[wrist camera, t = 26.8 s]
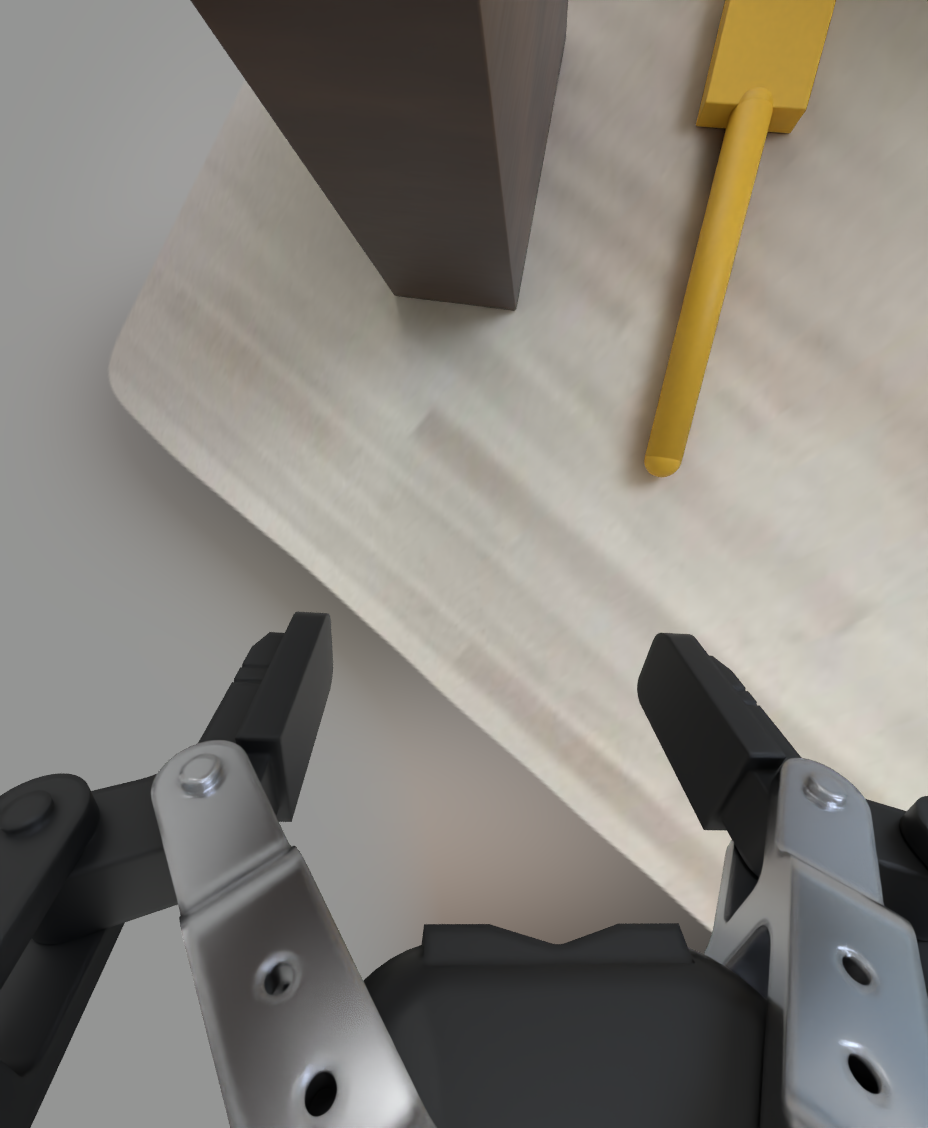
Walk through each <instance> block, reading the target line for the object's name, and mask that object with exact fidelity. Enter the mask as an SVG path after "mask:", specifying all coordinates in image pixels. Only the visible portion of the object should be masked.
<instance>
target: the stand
mask: <svg viewBox="0 0 928 1128" xmlns="http://www.w3.org/2000/svg"><path fill="white" fill-rule="evenodd" d="M191 1H192V3H193V5H194V6H195V8H196V9H197V10H198V12H199V13H200V15H201V16H202V18H203V19H204V20H205V22H206V23H207V25H208V26H209V28H210V29H211V30H212V32H213V34H214V35H215V36H216V38H217V39H218V41H219V42H220V44H221V45H222V46H223V48H224V49H225V51H226V52H227V54H228V55H229V57H230V58H231V60H232V61H233V62H234V64H235V65H236V67H237V68H238V70H239V71H240V72H241V74H242V75H243V77H244V78H245V80H246V81H247V83H248V84H249V86H250V87H251V88H252V90H253V91H254V93H255V94H256V96H257V97H258V99H259V100H260V101H261V103H262V104H263V106H264V107H265V109H266V110H267V112H268V113H269V114H270V116H271V117H272V119H273V120H274V122H275V123H276V125H277V126H278V127H279V129H280V130H281V132H282V133H283V135H284V136H285V138H286V139H287V140H288V142H289V143H290V145H291V146H292V148H293V149H294V151H295V152H296V153H297V155H298V156H299V158H300V159H301V161H302V162H303V164H304V165H305V166H306V168H307V169H308V171H309V172H310V174H311V175H312V177H313V178H314V179H315V181H316V182H317V184H318V185H319V187H320V188H321V190H322V191H323V192H324V194H325V195H326V197H327V198H328V200H329V201H330V203H331V204H332V205H333V207H334V208H335V210H336V211H337V213H338V214H339V216H340V217H341V218H342V220H343V221H344V223H345V224H346V226H347V227H348V229H349V230H350V231H351V233H352V234H353V236H354V237H355V239H356V240H357V242H358V243H359V244H360V246H361V247H362V249H363V250H364V252H365V253H366V255H367V256H368V257H369V259H370V260H371V262H372V263H373V265H374V266H375V268H376V269H377V270H378V272H379V273H380V275H381V276H382V278H383V279H384V281H385V282H386V283H387V285H388V286H389V288H390V289H391V291H392V292H393V294H394V295H396V296H404V297H412V298H420V299H428V300H436V301H444V302H452V303H460V304H468V305H476V306H484V307H492V308H501V309H509V310H516V307H517V302H518V296H519V291H520V285H521V280H522V274H523V269H524V263H525V258H526V252H527V247H528V242H529V236H530V231H531V225H532V220H533V214H534V209H535V203H536V198H537V192H538V187H539V181H540V176H541V170H542V165H543V159H544V154H545V148H546V143H547V137H548V132H549V126H550V121H551V116H552V110H553V105H554V99H555V94H556V88H557V83H558V77H559V72H560V66H561V61H562V55H563V50H564V44H565V39H566V27H567V10H568V0H191Z"/></svg>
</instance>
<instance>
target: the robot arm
mask: <svg viewBox="0 0 928 1128" xmlns="http://www.w3.org/2000/svg"><path fill="white" fill-rule="evenodd" d="M332 674H333V654H332V635H331V619H330V615H329V614H328V613H311V612H295V614H294V615H293V617H292V619H291V621H290V623H289V626H288V628H287V630H286V632H285V633H275V632H269V633H268V634H267V635H266V636H265V637H263V638H262V639H261V640H260V641H258V642H257V643H256V644H255V645H254V646H252V648H251V649H250V651H249V653H248V655H247V657H246V659H245V660H244V662H243V664H242V668H240V669H239V671H238V673H237V674H236V676H235V678H234V683H233V682H232V683H231V685H230V687H229V689H228V691H227V692H226V694H225V696H224V698H223V700H222V701H221V703H220V705H219V707H218V709H217V710H216V712H215V714H214V716H213V718H212V719H211V721H210V723H209V725H208V726H207V728H206V730H205V732H204V734H203V735H202V737H201V739H200V740H199V742H198V743H197V744H196V745H193V746H190V747H188V748H186V749H184V750H183V751H181V752H179V753H178V754H176V755H175V756H174V757H173V758H171V759H170V760H169V761H168V762H167V763H166V764H165V765H164V766H163V767H162V768H161V769H160V771H159V772H158V774H155V775H153V776H150V777H147V778H143V779H140V780H136V781H131V782H127V783H123V784H119V785H115V786H111V787H107V788H102V789H98V790H94V791H90V788H89V787H88V785H87V783H86V782H85V781H84V780H83V779H82V778H80V777H78V776H76V775H72V774H51V775H46V776H42V777H39V778H35V779H32V780H30V781H28V782H25V783H22V784H20V785H18V786H16V787H14V788H12V789H10V790H9V791H7V792H6V793H4V794H2V795H1V796H0V1128H30V1127H31V1125H32V1123H33V1121H34V1119H35V1116H36V1114H37V1112H38V1110H39V1108H40V1105H41V1103H42V1101H43V1099H44V1097H45V1095H46V1092H47V1090H48V1088H49V1086H50V1084H51V1082H52V1079H53V1077H54V1075H55V1073H56V1071H57V1068H58V1066H59V1064H60V1062H61V1060H62V1058H63V1056H64V1053H65V1051H66V1049H67V1047H68V1045H69V1042H70V1040H71V1038H72V1036H73V1034H74V1031H75V1029H76V1027H77V1025H78V1023H79V1021H80V1018H81V1016H82V1014H83V1012H84V1010H85V1008H86V1006H87V1003H88V1001H89V999H90V997H91V994H92V992H93V990H94V988H95V986H96V984H97V982H98V979H99V977H100V975H101V973H102V971H103V969H104V966H105V964H106V962H107V960H108V958H109V955H110V953H111V951H112V949H113V947H114V945H115V943H116V940H117V938H118V936H119V934H120V932H121V929H122V927H123V925H124V923H125V922H127V921H130V920H133V919H136V918H139V917H142V916H145V915H148V914H151V913H154V912H156V911H160V910H163V909H166V908H168V907H171V906H174V905H177V904H178V905H179V909H180V915H181V916H180V926H181V931H182V935H183V940H184V944H185V948H186V952H187V956H188V960H189V964H190V968H191V972H192V976H193V980H194V984H195V988H196V992H197V996H198V1000H199V1004H200V1008H201V1012H202V1016H203V1020H204V1024H205V1028H206V1032H207V1036H208V1040H209V1044H210V1048H211V1052H212V1056H213V1060H214V1064H215V1068H216V1072H217V1076H218V1080H219V1084H220V1088H221V1092H222V1096H223V1100H224V1104H225V1108H226V1112H227V1116H228V1120H229V1124H230V1128H928V796H925V797H921V798H920V799H918V800H917V801H916V802H915V803H914V804H913V805H912V806H911V807H910V809H909V810H908V811H904V810H900V809H897V808H894V807H890V806H887V805H884V804H880V803H877V802H874V801H870V800H867V799H865V798H864V797H863V795H862V794H861V793H860V792H859V790H858V789H857V788H856V787H855V786H854V785H853V784H852V783H851V782H849V781H848V780H847V779H846V778H845V777H843V776H842V775H840V774H839V773H837V772H836V771H834V770H833V769H831V768H829V767H827V766H825V765H823V764H821V763H818V762H816V761H813V760H809V759H804V758H801V757H800V755H799V754H798V753H797V752H796V750H795V749H794V748H793V747H792V745H791V744H790V743H789V742H788V740H787V739H786V738H785V737H784V735H783V734H782V733H781V732H780V730H779V729H778V728H777V727H776V725H775V724H774V723H773V722H772V720H771V719H770V718H769V717H768V715H767V714H766V713H765V712H764V710H763V709H762V708H761V707H760V706H757V704H756V703H757V702H756V700H755V699H754V698H753V697H752V695H751V694H750V693H749V692H748V691H745V687H744V685H743V684H742V683H741V682H740V681H739V679H738V678H737V677H736V676H735V674H734V673H733V672H732V671H731V670H730V669H729V668H727V667H726V666H725V665H723V664H722V663H721V662H719V661H718V660H717V659H716V658H714V657H713V656H709V655H708V654H707V652H706V651H705V650H704V649H703V647H702V646H701V645H700V643H699V642H698V641H697V639H696V638H695V637H694V636H692V635H690V634H674V633H659V634H657V635H656V636H655V638H654V640H653V642H652V645H651V647H650V650H649V652H648V655H647V658H646V660H645V663H644V665H643V668H642V671H641V673H640V676H639V679H638V684H637V692H638V698H639V702H640V704H641V706H642V708H643V710H644V712H645V714H646V716H647V718H648V720H649V722H650V724H651V726H652V728H653V730H654V732H655V734H656V736H657V738H658V740H659V742H660V744H661V746H662V748H663V750H664V752H665V754H666V756H667V758H668V760H669V762H670V764H671V766H672V768H673V770H674V772H675V774H676V776H677V778H678V780H679V782H680V784H681V786H682V788H683V790H684V792H685V793H686V795H687V797H688V799H689V801H690V803H691V805H692V807H693V809H694V811H695V813H696V815H697V817H698V819H699V821H700V823H701V825H702V827H703V829H704V830H727V831H728V833H729V835H730V837H731V838H732V840H731V842H730V843H729V845H728V846H727V849H726V854H725V860H724V866H723V873H722V879H721V885H720V891H719V897H718V903H717V909H716V915H715V922H714V927H713V932H712V935H711V938H710V941H709V944H708V946H707V948H706V950H705V953H704V954H702V953H700V952H698V951H696V950H693V949H691V948H689V947H687V944H686V942H685V939H684V936H683V934H682V931H681V929H680V926H679V924H678V923H677V924H616V925H614V926H611V927H608V928H605V929H603V930H600V931H598V932H595V933H592V934H589V935H587V936H584V937H581V938H578V939H575V940H573V941H570V942H567V943H564V944H552V943H548V942H545V941H542V940H538V939H535V938H532V937H528V936H525V935H522V934H519V933H516V932H512V931H509V930H506V929H503V928H499V927H496V926H493V925H490V924H439V925H437V924H428V925H424V930H423V938H422V945H420V946H418V947H415V948H412V949H409V950H407V951H405V952H403V953H401V954H399V955H397V956H395V957H393V958H392V959H390V960H388V961H387V962H386V963H384V964H383V965H381V966H380V967H379V968H377V969H376V970H375V971H374V972H372V973H371V974H370V975H369V976H368V977H367V978H366V979H365V980H364V981H363V980H362V977H361V975H360V973H359V971H358V969H357V967H356V965H355V963H354V961H353V959H352V957H351V955H350V953H349V951H348V949H347V947H346V944H345V942H344V940H343V938H342V937H341V934H340V932H339V930H338V928H337V926H336V924H335V922H334V920H333V918H332V916H331V913H330V911H329V909H328V907H327V905H326V903H325V901H324V899H323V897H322V895H321V893H320V891H319V889H318V887H317V885H316V882H315V881H314V878H313V876H312V875H311V872H310V870H309V868H308V866H307V864H306V862H305V860H304V858H303V857H302V855H301V853H300V851H299V850H298V849H297V847H296V846H292V847H291V845H290V844H289V842H288V840H287V839H286V836H285V834H284V832H283V830H282V828H281V826H280V824H279V822H280V821H281V822H282V821H283V822H292V818H293V814H294V811H295V808H296V804H297V801H298V797H299V794H300V790H301V787H302V784H303V780H304V777H305V773H306V770H307V767H308V763H309V760H310V756H311V753H312V749H313V746H314V743H315V739H316V736H317V732H318V729H319V725H320V722H321V718H322V715H323V712H324V708H325V705H326V701H327V698H328V694H329V691H330V687H331V682H332Z"/></svg>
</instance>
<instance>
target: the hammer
mask: <svg viewBox="0 0 928 1128" xmlns="http://www.w3.org/2000/svg"><path fill="white" fill-rule="evenodd" d="M835 2H836V0H725V4H724V8H723V12H722V16H721V20H720V25H719V29H718V33H717V37H716V42H715V46H714V50H713V54H712V58H711V63H710V67H709V71H708V75H707V79H706V84H705V88H704V92H703V96H702V100H701V105H700V109H699V113H698V117H697V122H696V126H700V127H713V128H726V131H725V135H724V139H723V143H722V147H721V151H720V155H719V159H718V163H717V167H716V172H715V176H714V180H713V184H712V188H711V192H710V196H709V200H708V204H707V208H706V212H705V216H704V220H703V224H702V228H701V232H700V236H699V240H698V244H697V248H696V252H695V256H694V260H693V264H692V269H691V273H690V277H689V281H688V285H687V289H686V293H685V297H684V301H683V305H682V309H681V313H680V317H679V321H678V325H677V329H676V333H675V337H674V341H673V345H672V349H671V353H670V357H669V361H668V366H667V370H666V374H665V378H664V382H663V386H662V390H661V394H660V398H659V402H658V406H657V410H656V414H655V418H654V422H653V426H652V430H651V434H650V438H649V442H648V446H647V450H646V454H645V459H644V463H645V467H646V469H647V471H648V472H649V473H650V474H652V475H654V476H656V477H667V476H670V475H671V474H673V473H674V472H676V471H677V470H678V468H679V467H680V464H681V461H682V458H683V454H684V450H685V446H686V442H687V438H688V435H689V431H690V427H691V423H692V419H693V415H694V412H695V408H696V404H697V400H698V396H699V392H700V389H701V385H702V381H703V377H704V373H705V369H706V366H707V362H708V358H709V354H710V350H711V346H712V343H713V339H714V335H715V331H716V327H717V323H718V320H719V316H720V312H721V308H722V304H723V300H724V297H725V293H726V289H727V285H728V281H729V277H730V274H731V270H732V266H733V262H734V258H735V254H736V251H737V247H738V243H739V239H740V235H741V231H742V228H743V224H744V220H745V216H746V212H747V208H748V205H749V201H750V197H751V193H752V189H753V185H754V182H755V178H756V174H757V170H758V166H759V162H760V159H761V155H762V151H763V147H764V143H765V139H766V136H767V132H778V133H791V131H792V130H793V128H794V127H795V125H796V124H797V122H798V121H799V119H800V118H801V116H802V115H803V113H804V112H805V110H806V109H807V105H808V102H809V98H810V94H811V91H812V87H813V83H814V80H815V76H816V72H817V68H818V65H819V61H820V57H821V54H822V50H823V46H824V43H825V39H826V35H827V32H828V28H829V24H830V21H831V17H832V13H833V9H834V6H835Z"/></svg>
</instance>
